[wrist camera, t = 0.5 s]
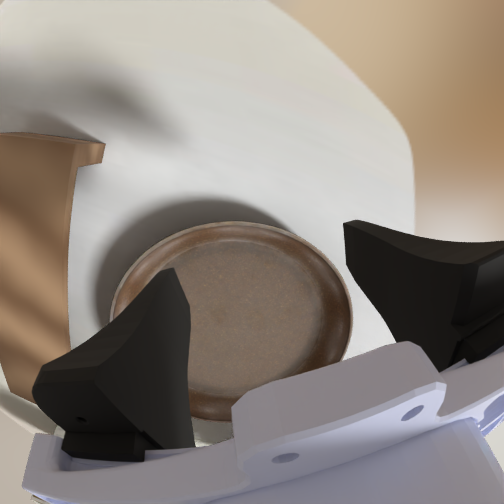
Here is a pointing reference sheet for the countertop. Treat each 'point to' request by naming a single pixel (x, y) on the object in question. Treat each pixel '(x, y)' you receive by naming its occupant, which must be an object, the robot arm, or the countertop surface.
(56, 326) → the walnut shelf
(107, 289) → the countertop surface
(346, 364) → the robot arm
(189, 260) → the plant saucer
